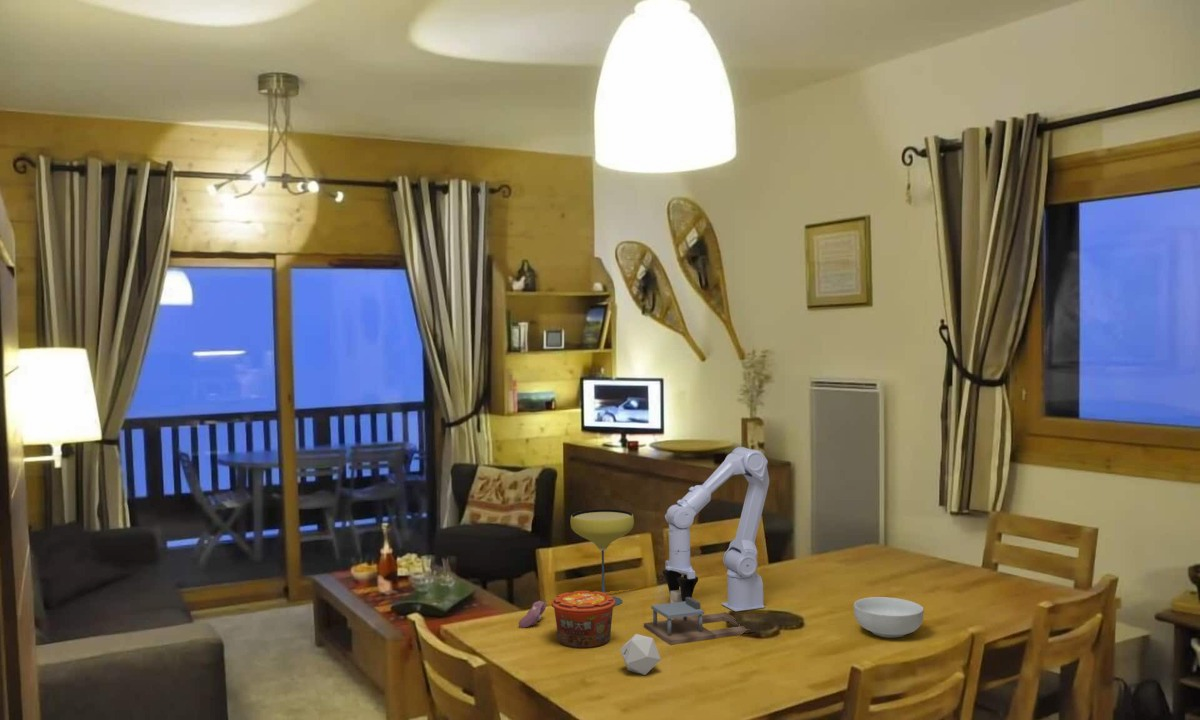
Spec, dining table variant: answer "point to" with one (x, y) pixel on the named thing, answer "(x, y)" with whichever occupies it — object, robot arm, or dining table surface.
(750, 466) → the robot arm
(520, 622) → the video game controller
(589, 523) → the cocktail glass
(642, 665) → the die
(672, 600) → the block
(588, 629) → the food container
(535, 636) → the dining table surface
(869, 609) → the cereal bowl
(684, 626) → the puzzle board
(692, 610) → the grey miniature stool
